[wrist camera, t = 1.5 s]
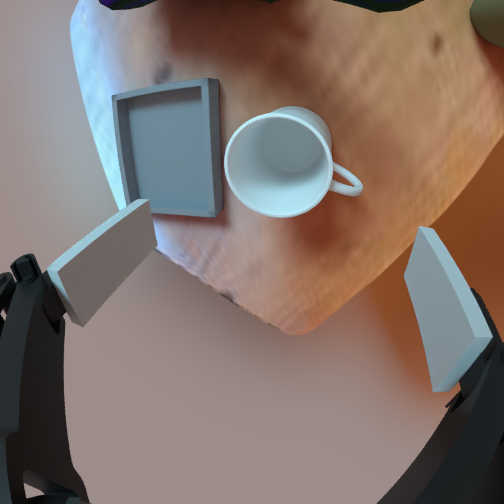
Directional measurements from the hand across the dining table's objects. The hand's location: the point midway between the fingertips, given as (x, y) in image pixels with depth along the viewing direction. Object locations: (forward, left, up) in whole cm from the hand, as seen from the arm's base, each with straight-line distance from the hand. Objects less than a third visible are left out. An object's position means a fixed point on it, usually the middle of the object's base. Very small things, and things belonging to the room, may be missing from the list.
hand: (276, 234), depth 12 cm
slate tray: (+17, 0, -20) cm, 26 cm away
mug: (0, 0, -21) cm, 21 cm away
